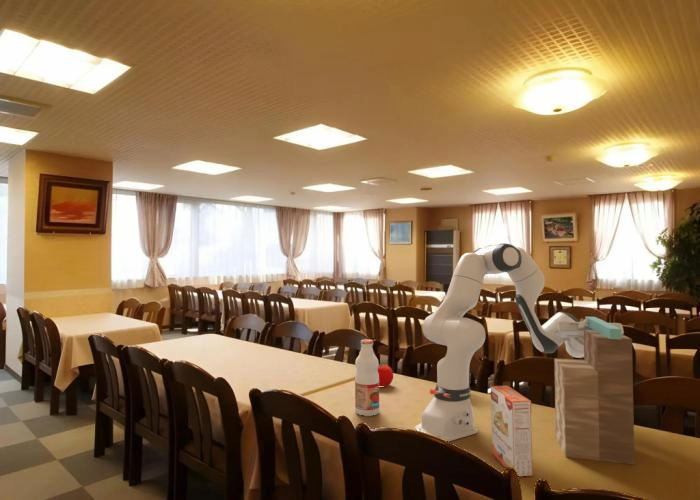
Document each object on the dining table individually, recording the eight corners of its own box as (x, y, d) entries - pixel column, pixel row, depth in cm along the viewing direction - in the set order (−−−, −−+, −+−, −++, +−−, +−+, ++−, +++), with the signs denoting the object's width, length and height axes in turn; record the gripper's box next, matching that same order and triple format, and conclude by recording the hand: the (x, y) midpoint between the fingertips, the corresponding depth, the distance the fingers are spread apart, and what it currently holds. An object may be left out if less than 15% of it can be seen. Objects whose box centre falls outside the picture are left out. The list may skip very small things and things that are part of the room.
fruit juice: (358, 407, 169) (357, 337, 170) (381, 409, 167) (380, 338, 167) (352, 415, 160) (352, 342, 160) (377, 417, 158) (376, 343, 158)
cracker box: (490, 454, 128) (489, 385, 128) (509, 453, 128) (508, 384, 129) (512, 478, 114) (511, 400, 114) (533, 477, 114) (532, 400, 115)
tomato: (363, 385, 197) (363, 363, 197) (380, 380, 205) (379, 359, 205) (382, 391, 188) (381, 368, 189) (398, 386, 196) (398, 364, 197)
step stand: (555, 436, 140) (553, 328, 141) (616, 442, 135) (614, 330, 136) (565, 456, 126) (563, 336, 126) (634, 464, 121) (631, 339, 122)
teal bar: (585, 325, 147) (585, 316, 147) (595, 325, 146) (594, 316, 147) (609, 339, 122) (609, 328, 122) (621, 339, 121) (621, 329, 121)
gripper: (553, 326, 158) (559, 312, 147) (614, 328, 153) (626, 313, 141) (555, 342, 155) (561, 329, 144) (617, 345, 149) (629, 331, 138)
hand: (594, 321), depth 142 cm, fingers closed on teal bar, 3 cm apart
